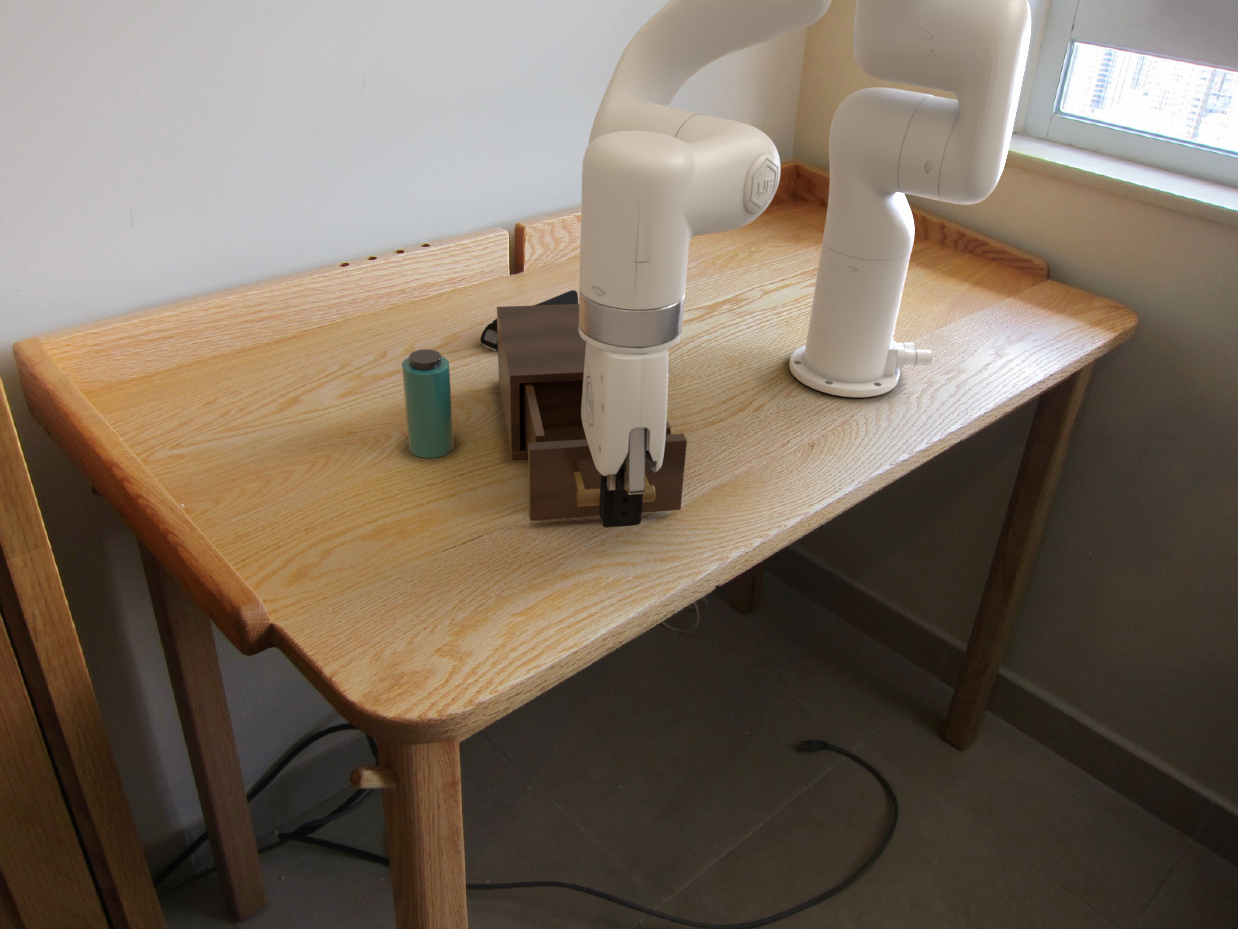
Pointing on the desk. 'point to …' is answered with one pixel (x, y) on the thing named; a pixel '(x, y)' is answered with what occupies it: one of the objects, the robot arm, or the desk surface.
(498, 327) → the cabinet
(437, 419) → the bottle
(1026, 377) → the desk surface
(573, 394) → the drawer
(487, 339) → the electric trimmer
